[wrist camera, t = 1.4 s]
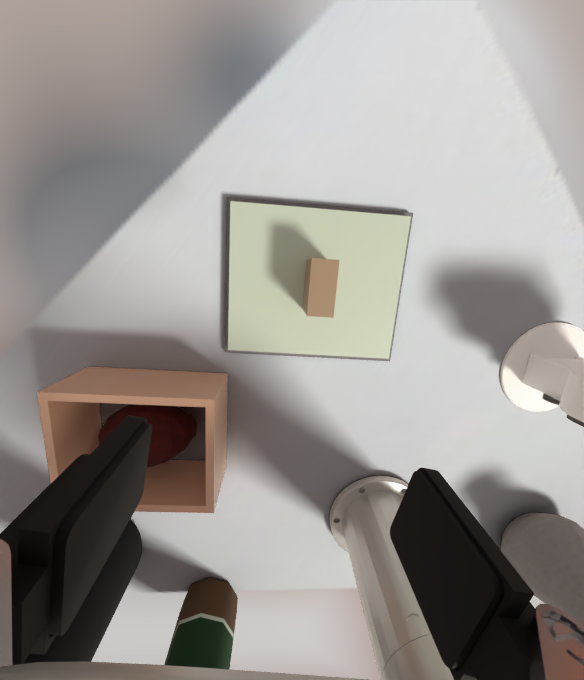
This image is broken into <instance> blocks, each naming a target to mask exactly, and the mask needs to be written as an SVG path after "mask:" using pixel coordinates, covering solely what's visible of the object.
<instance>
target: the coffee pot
mask: <svg viewBox="0 0 584 680" xmlns="http://www.w3.org/2000/svg"><path fill="white" fill-rule="evenodd" d="M501 552H502V553H503V554H504V556H505V557H506V558H507V559H508V561H509V562H510V563H511V564H512V566H513V567H514V568H515V569H516V571H517V572H518V573H519V575H520V576H521V577H522V578H523V580H524V581H525V582H526V583H527V585H528V586H529V587H530V589H531V590H532V591H533V592H534V596H536V597H537V598H539V599H540V600H541V601H543V602H544V603H546V604H548V605H551V606H554V607H556V608H558V609H560V610H562V611H563V612H565V613H567V614H568V615H569V616H571V617H572V618H573V619H575V620H576V621H577V622H579V623H580V624H581V625H582V626H583V627H584V529H583V528H582V527H580V526H579V525H578V524H577V523H576V522H574V521H571V520H569V519H567V518H564V517H562V516H560V515H555V514H547V513H536V512H535V513H527V514H524V515H521V516H519V517H517V518H515V519H514V520H513V521H512V522H510V523H509V524H508V526H507V527H506V528H505V530H504V532H503V535H502V544H501Z"/></svg>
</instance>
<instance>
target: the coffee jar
mask: <svg viewBox="0 0 584 680" xmlns="http://www.w3.org/2000/svg"><path fill="white" fill-rule="evenodd" d="M141 554H142V543H141V536H140V533H139V531H138V529H137V527H136V526H135V525H134V524H133V523H132V522H131V521H130V520H129V522H128V524H127V525H126V527H125V529H124V531H123V533H122V534H121V536H120V538H119V540H118V541H117V543H116V545H115V547H114V549H113V550H112V552H111V554H110V556H109V557H108V559H107V561H106V563H105V565H104V566H103V568H102V570H101V572H100V573H99V575H98V577H97V579H96V581H95V582H94V584H93V586H92V588H91V589H90V591H89V593H88V595H87V597H86V598H85V600H84V602H83V604H82V605H81V607H80V609H79V611H78V613H77V614H76V616H75V618H74V620H73V621H72V623H71V625H70V627H69V628H68V630H67V631H66V633H65V634H64V635H63V636H60V635H56V637H55V638H54V640H53V642H52V643H51V645H50V647H49V648H48V650H47V652H46V654H45V655H42V654H29V655H28V657H27V659H26V660H25V662H24V663H23V664H27V663H36V662H91V660H92V658H93V656H94V654H95V652H96V650H97V648H98V646H99V644H100V642H101V640H102V638H103V636H104V634H105V631H106V629H107V627H108V625H109V623H110V621H111V619H112V617H113V615H114V613H115V611H116V609H117V607H118V604H119V603H120V601H121V598H122V596H123V594H124V592H125V590H126V588H127V586H128V584H129V582H130V580H131V578H132V576H133V574H134V572H135V570H136V568H137V565H138V563H139V561H140V557H141Z"/></svg>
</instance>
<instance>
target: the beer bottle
mask: <svg viewBox="0 0 584 680" xmlns="http://www.w3.org/2000/svg"><path fill="white" fill-rule="evenodd" d="M237 599H238V598H237V595H236V593H235V592H234V590H233V589H232V587H231V585H230V584H229V582H226V581H223V580H219V579H215V578H211V577H209V578H206V579H204V580H201V581H198V582H195V583H193V584H192V585H191V586H190V588H189V590H188V593H187V595H186V598H185V600H184V602H183V605H182V608H181V611H180V614H179V617H178V620H177V624H176V627H175V631H174V634H173V637H172V641H171V644H170V648H169V651H168V655H167V658H166V661H165V665H169V666H184V667H199V668H214V669H228V670H229V667H230V660H231V652H232V644H233V636H234V628H235V620H236V612H237Z"/></svg>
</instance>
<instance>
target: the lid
mask: <svg viewBox="0 0 584 680" xmlns="http://www.w3.org/2000/svg"><path fill="white" fill-rule="evenodd" d="M410 220H411V216H401V215H390V214H378V213H366V212H354V211H342V210H331V209H319V208H307V207H295V206H284V205H272V204H260V203H248V202H236V201H230V250H229V311H228V350H234V351H253V352H271V353H290V354H308V355H327V356H346V357H364V358H383V359H389V355H390V349H391V342H392V336H393V329H394V323H395V316H396V310H397V304H398V297H399V291H400V284H401V278H402V271H403V265H404V259H405V252H406V246H407V239H408V233H409V226H410Z"/></svg>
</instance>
